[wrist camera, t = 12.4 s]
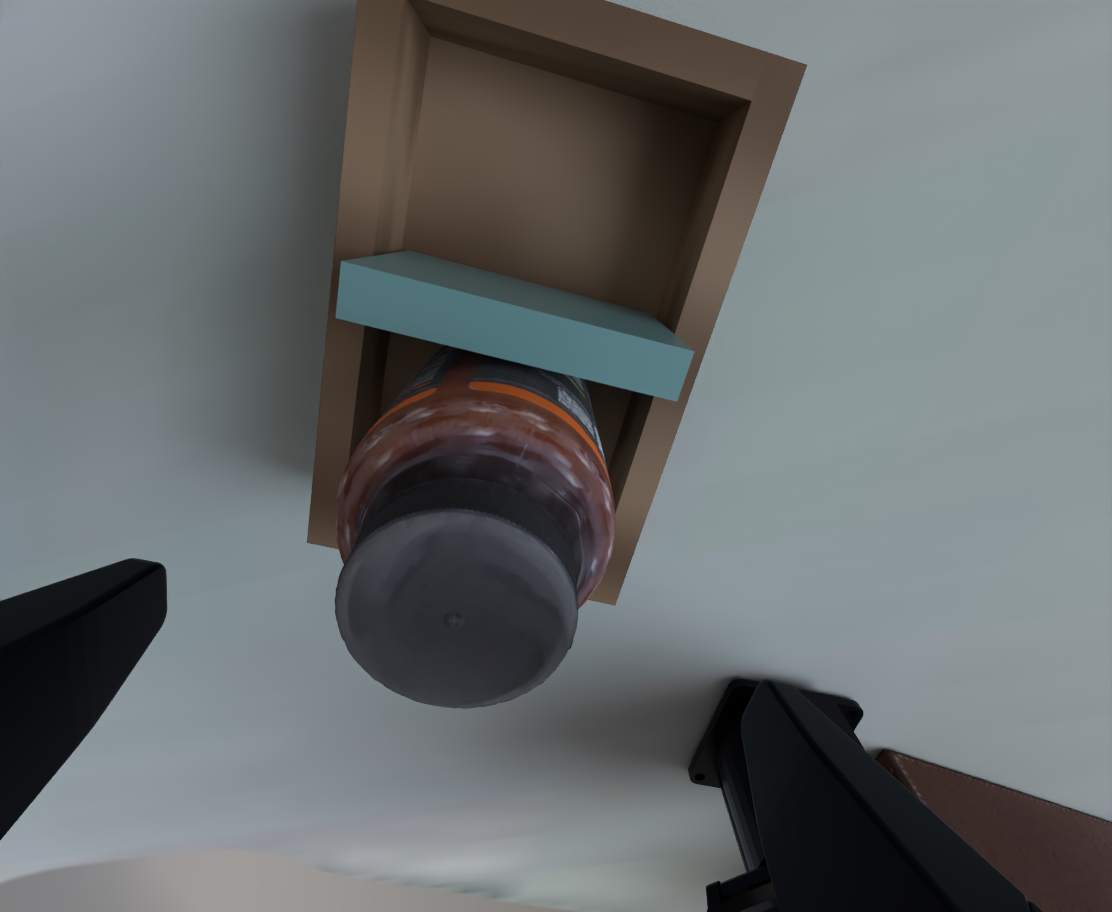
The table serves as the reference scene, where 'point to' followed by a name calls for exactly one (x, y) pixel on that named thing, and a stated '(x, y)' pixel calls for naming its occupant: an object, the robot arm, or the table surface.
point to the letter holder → (1019, 835)
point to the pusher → (513, 321)
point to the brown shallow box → (548, 195)
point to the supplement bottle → (472, 530)
